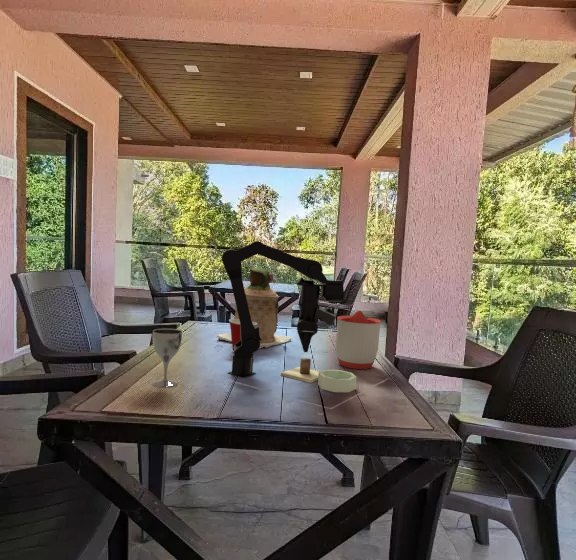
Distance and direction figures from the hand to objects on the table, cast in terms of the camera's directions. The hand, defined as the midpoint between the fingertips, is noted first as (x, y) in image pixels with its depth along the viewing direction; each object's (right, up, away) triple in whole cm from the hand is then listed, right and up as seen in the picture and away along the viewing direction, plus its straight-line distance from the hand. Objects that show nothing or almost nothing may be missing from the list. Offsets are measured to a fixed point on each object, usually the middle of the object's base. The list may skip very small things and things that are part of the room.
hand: (306, 349), depth 146 cm
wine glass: (-40, -8, -16) cm, 44 cm away
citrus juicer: (+19, -9, +20) cm, 29 cm away
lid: (0, -9, +1) cm, 9 cm away
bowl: (+9, -10, -9) cm, 16 cm away
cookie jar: (-20, -4, +52) cm, 56 cm away
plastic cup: (-23, -6, +29) cm, 38 cm away
